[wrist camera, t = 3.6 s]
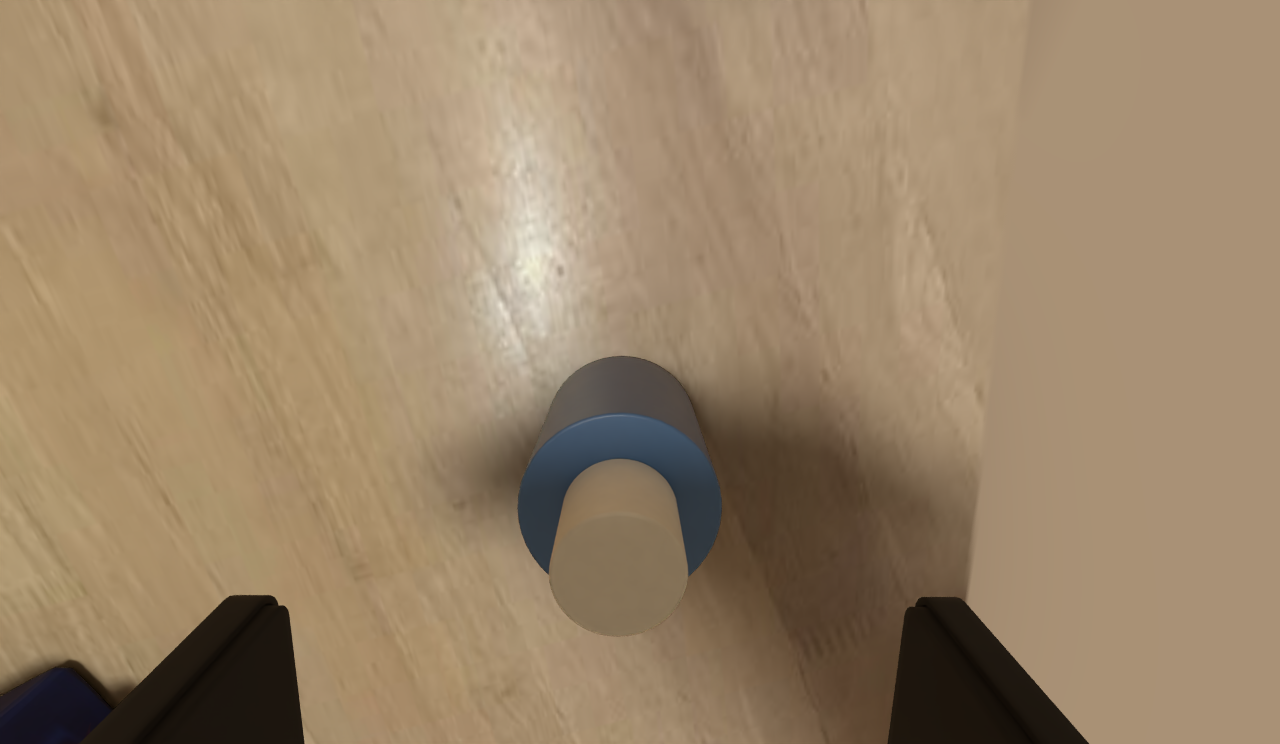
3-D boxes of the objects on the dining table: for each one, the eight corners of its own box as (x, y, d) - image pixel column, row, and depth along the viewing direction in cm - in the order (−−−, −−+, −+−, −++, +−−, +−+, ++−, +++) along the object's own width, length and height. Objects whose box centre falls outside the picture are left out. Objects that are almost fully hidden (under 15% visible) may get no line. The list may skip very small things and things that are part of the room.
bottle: (698, 357, 22) (750, 460, 13) (692, 497, 23) (736, 685, 14) (547, 354, 22) (489, 457, 13) (548, 495, 23) (496, 684, 14)
